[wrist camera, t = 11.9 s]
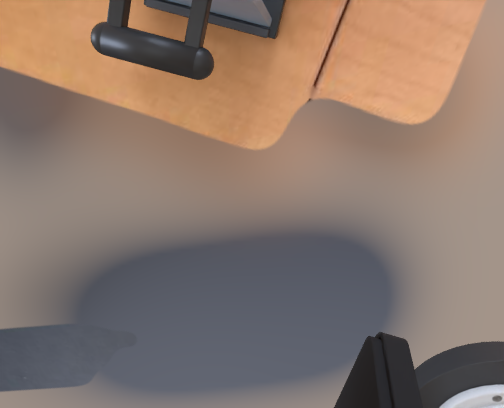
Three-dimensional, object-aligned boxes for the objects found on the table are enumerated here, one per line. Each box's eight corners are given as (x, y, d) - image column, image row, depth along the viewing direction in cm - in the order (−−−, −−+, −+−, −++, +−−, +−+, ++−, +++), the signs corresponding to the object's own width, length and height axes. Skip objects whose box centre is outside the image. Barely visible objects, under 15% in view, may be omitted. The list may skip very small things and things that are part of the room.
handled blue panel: (65, -64, 19) (55, 43, 20) (255, -15, 19) (231, 90, 20) (149, -14, 29) (139, 54, 31) (272, 18, 29) (255, 85, 31)
